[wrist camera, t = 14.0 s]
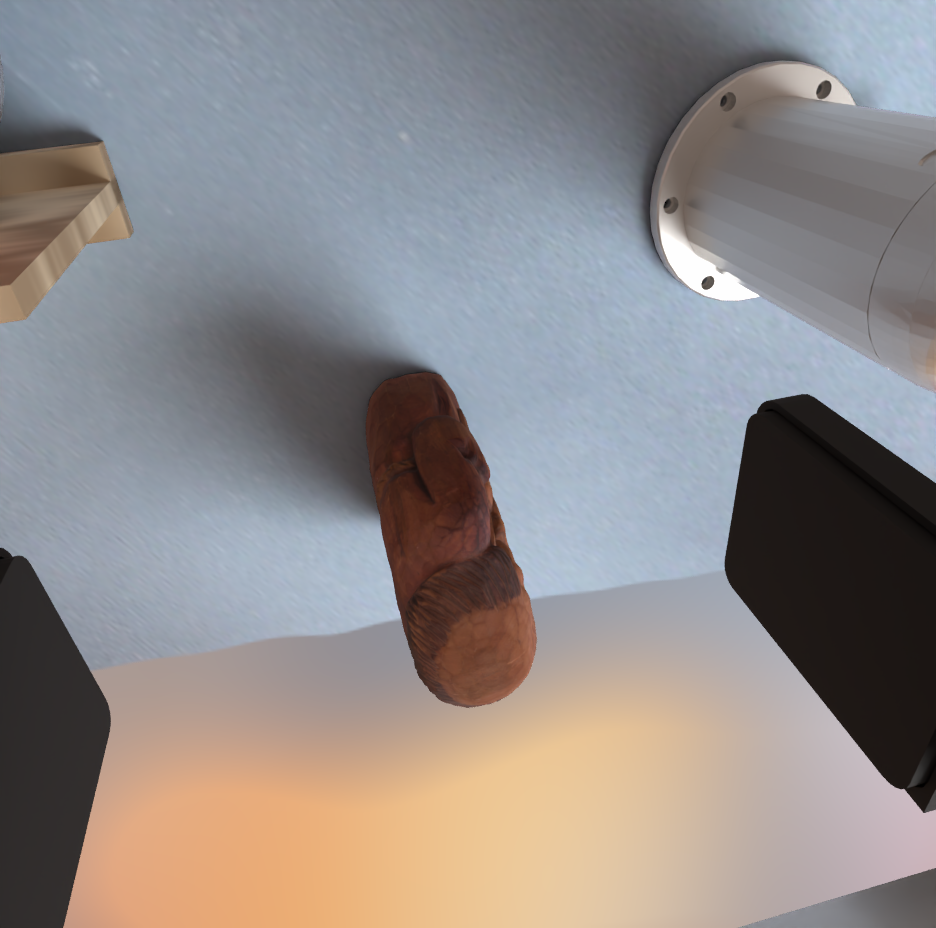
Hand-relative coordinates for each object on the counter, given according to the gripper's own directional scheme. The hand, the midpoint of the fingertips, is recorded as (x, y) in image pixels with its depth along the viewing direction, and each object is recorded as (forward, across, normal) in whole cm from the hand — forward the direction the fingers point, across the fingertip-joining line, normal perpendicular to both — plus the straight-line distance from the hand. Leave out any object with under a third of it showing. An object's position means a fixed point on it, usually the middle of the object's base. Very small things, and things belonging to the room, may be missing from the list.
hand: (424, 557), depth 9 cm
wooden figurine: (+30, -3, +17) cm, 35 cm away
